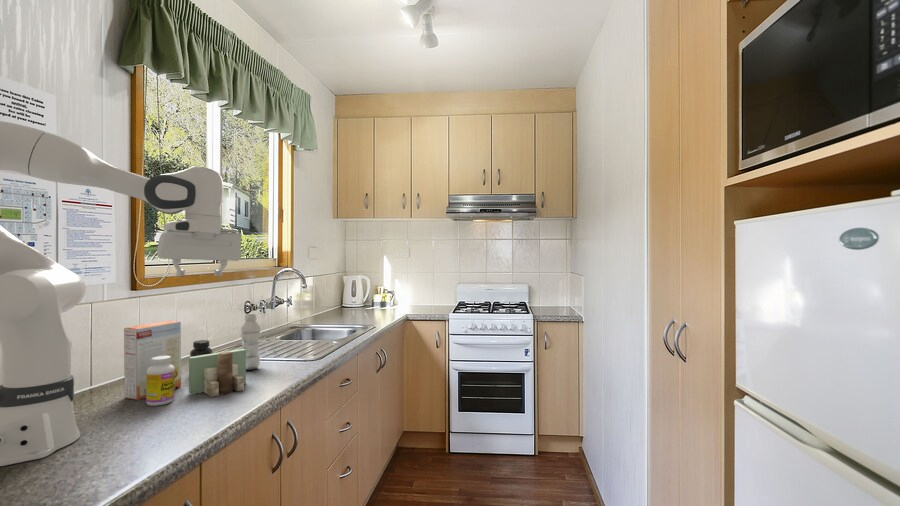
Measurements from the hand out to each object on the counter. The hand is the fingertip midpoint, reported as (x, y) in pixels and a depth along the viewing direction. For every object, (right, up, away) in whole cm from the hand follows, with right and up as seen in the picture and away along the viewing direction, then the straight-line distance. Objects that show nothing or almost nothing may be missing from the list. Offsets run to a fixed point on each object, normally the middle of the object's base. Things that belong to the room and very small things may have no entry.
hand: (199, 276), depth 119 cm
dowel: (0, -36, +13) cm, 38 cm away
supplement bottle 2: (-17, -36, +30) cm, 50 cm away
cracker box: (-21, -36, +12) cm, 44 cm away
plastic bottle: (-4, -37, +39) cm, 53 cm away
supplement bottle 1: (-13, -36, +4) cm, 39 cm away
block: (-1, -36, +14) cm, 39 cm away
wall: (-4, -36, +17) cm, 40 cm away
